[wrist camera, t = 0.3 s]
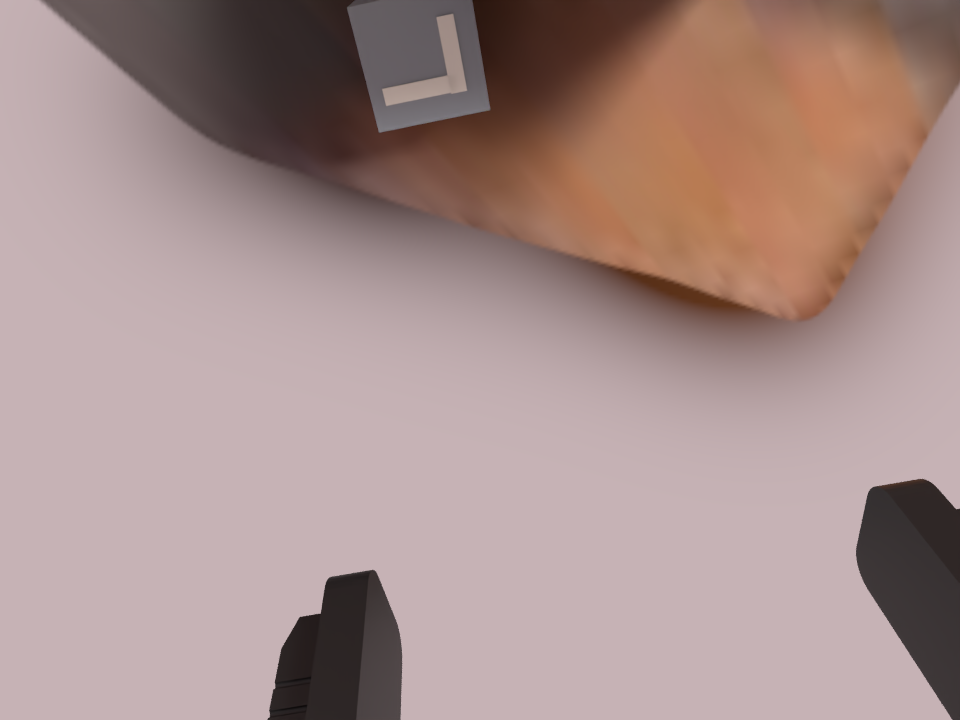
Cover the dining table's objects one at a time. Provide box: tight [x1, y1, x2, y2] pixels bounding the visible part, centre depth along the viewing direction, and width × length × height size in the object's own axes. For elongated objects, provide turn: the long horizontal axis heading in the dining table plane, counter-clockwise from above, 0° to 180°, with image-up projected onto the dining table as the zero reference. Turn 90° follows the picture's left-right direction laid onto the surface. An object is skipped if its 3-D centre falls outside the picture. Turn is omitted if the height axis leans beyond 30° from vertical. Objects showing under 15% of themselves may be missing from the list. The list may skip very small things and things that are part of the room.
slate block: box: [347, 0, 490, 133], centre depth 30 cm, size 5×5×5 cm
